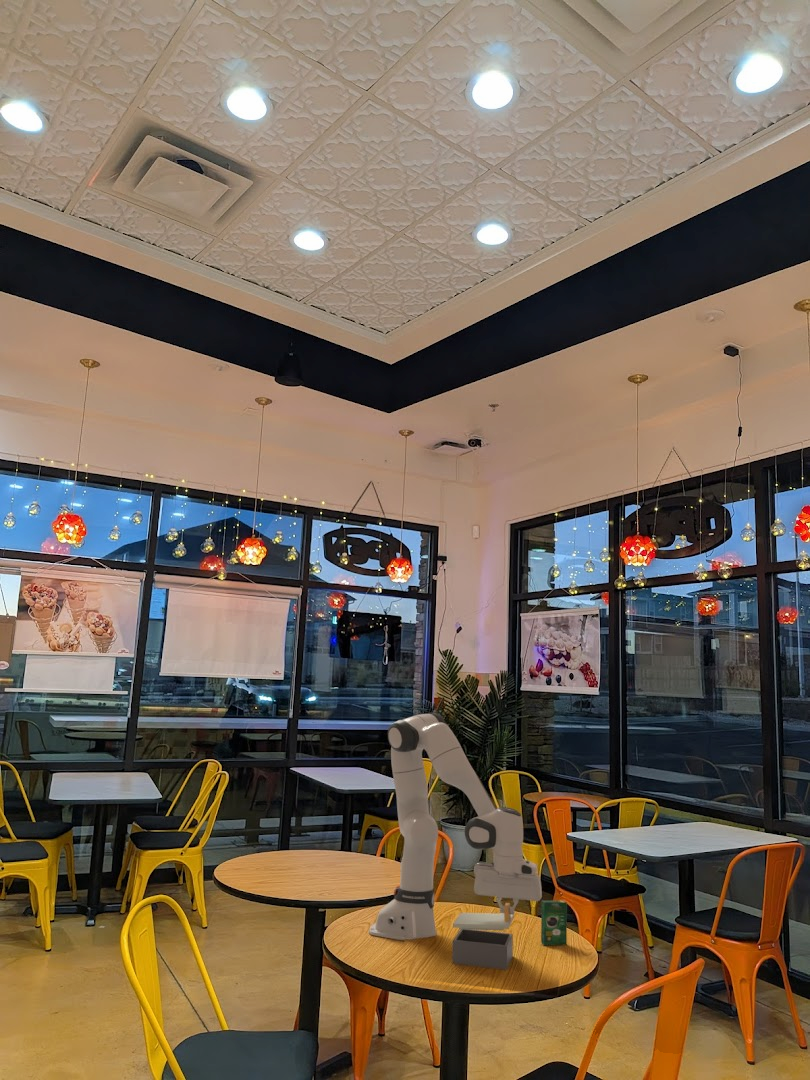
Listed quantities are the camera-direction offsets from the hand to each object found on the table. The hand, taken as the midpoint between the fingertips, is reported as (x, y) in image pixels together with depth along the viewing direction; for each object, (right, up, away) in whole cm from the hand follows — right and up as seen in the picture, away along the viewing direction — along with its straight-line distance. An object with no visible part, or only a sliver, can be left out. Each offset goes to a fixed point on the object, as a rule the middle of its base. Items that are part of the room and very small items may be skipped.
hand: (507, 913), depth 231 cm
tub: (-7, -14, -1) cm, 16 cm away
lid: (-7, -3, +1) cm, 8 cm away
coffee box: (+18, -19, +18) cm, 32 cm away
